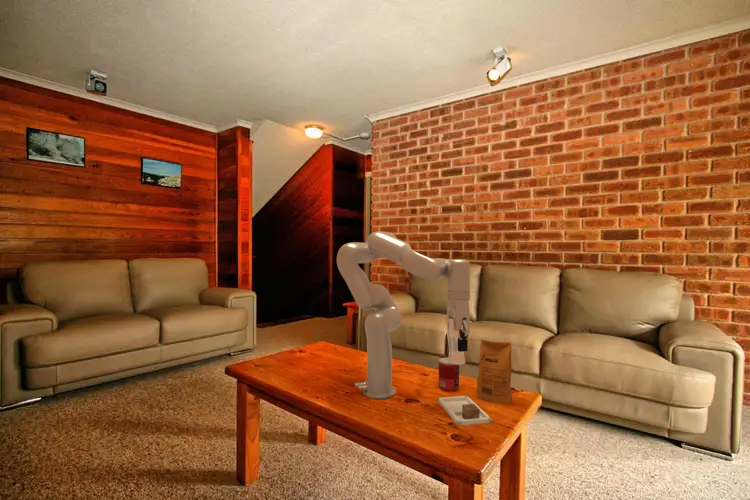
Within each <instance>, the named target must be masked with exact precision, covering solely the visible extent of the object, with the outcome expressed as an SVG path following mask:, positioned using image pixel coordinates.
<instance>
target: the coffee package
mask: <svg viewBox="0 0 750 500" xmlns="http://www.w3.org/2000/svg"><path fill="white" fill-rule="evenodd" d="M479 351H480V353H479V361H478V375H477V380H476V393H477V394H476V396H477V398H478V399H479V400H483V401H487V402H490V403H493V404H494V403H495V404H502V405H509V404H511V403H512V402H513V393H512V389H511V381H512V378H511V377H512V341H496V342H495V341H491V340H489V339H485V338H481V340H480V347H479Z"/></svg>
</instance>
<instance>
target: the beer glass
mask: <svg viewBox="0 0 750 500" xmlns="http://www.w3.org/2000/svg"><path fill="white" fill-rule="evenodd" d="M460 330H464V328H463V325H462V326H461V328H460ZM458 333H459V331H455V330H453V319H451V318H449V317H448V321H447V324H446V336H447V344H448V357H447V358H448V362H449V363H452V364H457V365H459V366H460V365H465V364H466V363H467V357H466V351H464V352H459V351H458V339H459V336H458ZM462 333H464V332H461V335H462Z"/></svg>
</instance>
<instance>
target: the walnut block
mask: <svg viewBox="0 0 750 500" xmlns="http://www.w3.org/2000/svg"><path fill="white" fill-rule="evenodd" d="M475 404H476V403H475ZM475 404H465V405H462V417H463V419H475V418H480V409H479V408H478V407H477V406H476V405H475Z"/></svg>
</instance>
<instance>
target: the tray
mask: <svg viewBox="0 0 750 500" xmlns="http://www.w3.org/2000/svg"><path fill="white" fill-rule="evenodd" d="M437 402H438V404H440V406H441V407H442V408H443V409H444V411H445V412H446V414H448V415H449V417H450V418H451V419H452V420H453V422H454V423H455V424H456V425H457V426H471V425H480V424H481V425H482V424H491V423H492V417H490V416H489V415H488V414H487V413H486V411H484V410H483V409H482V408H481V407H480V406H478V404H477V403H476V402H474V400H472V399H471V398H470V397H469V396H468V395H460V396H459V395H458V396H445V397H438V398H437ZM465 404H475V405H476V406H477V407H478V408H479V409H480V418H475V419H463V417H462V405H465Z"/></svg>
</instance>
